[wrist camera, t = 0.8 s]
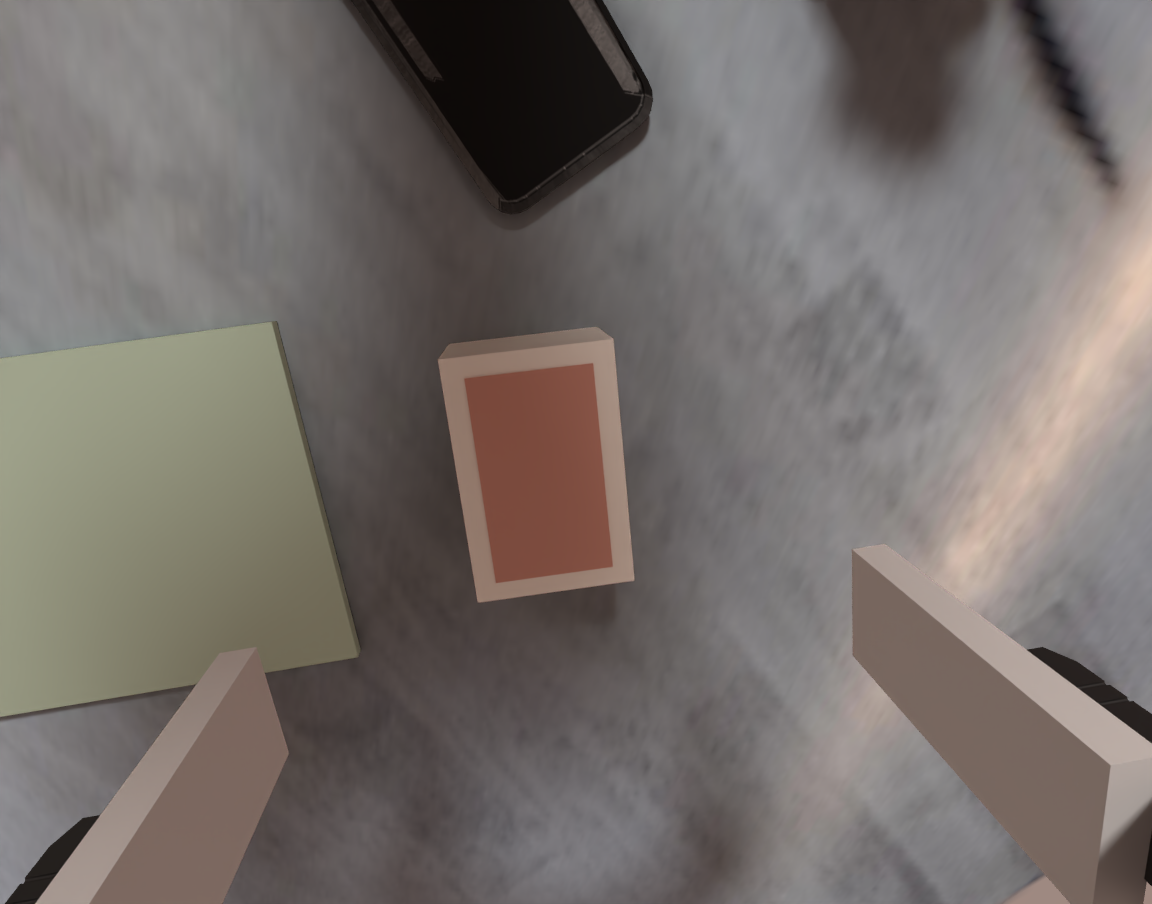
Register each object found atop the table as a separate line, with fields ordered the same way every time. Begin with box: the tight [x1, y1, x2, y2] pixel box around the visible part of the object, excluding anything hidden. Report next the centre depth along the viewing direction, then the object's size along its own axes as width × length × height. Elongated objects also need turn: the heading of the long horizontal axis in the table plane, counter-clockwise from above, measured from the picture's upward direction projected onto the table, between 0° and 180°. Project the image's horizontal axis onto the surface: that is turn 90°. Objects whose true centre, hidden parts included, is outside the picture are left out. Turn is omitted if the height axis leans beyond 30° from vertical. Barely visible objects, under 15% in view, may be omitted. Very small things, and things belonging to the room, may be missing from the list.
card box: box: [438, 327, 635, 603], centre depth 28 cm, size 10×6×5 cm, turn 6°
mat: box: [0, 321, 361, 717], centre depth 29 cm, size 16×22×1 cm
